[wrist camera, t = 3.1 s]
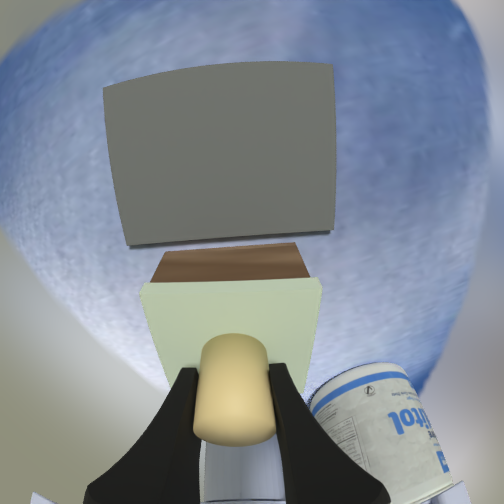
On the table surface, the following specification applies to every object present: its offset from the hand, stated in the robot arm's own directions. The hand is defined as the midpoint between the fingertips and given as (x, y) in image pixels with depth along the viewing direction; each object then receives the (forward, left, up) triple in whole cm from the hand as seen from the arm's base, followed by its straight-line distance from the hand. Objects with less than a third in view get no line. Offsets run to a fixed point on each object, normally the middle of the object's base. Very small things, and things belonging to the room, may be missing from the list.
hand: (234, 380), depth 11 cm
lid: (0, 0, -3) cm, 3 cm away
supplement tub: (-12, -10, -6) cm, 17 cm away
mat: (+9, 0, -6) cm, 10 cm away
